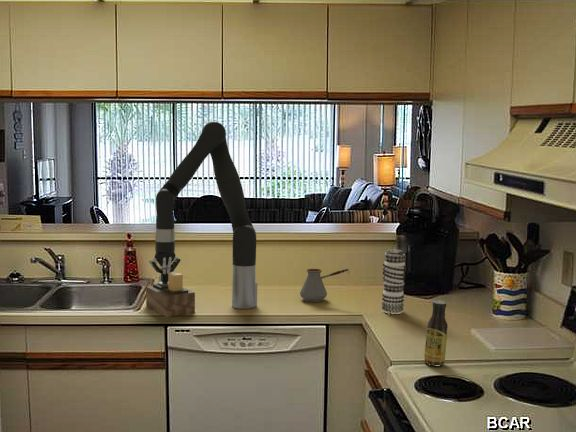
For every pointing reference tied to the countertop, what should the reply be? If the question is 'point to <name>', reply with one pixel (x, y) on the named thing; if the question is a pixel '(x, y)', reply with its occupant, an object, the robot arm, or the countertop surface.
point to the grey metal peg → (163, 284)
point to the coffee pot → (315, 285)
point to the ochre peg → (175, 282)
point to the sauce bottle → (436, 335)
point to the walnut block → (170, 300)
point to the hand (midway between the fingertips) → (165, 282)
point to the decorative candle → (393, 281)
